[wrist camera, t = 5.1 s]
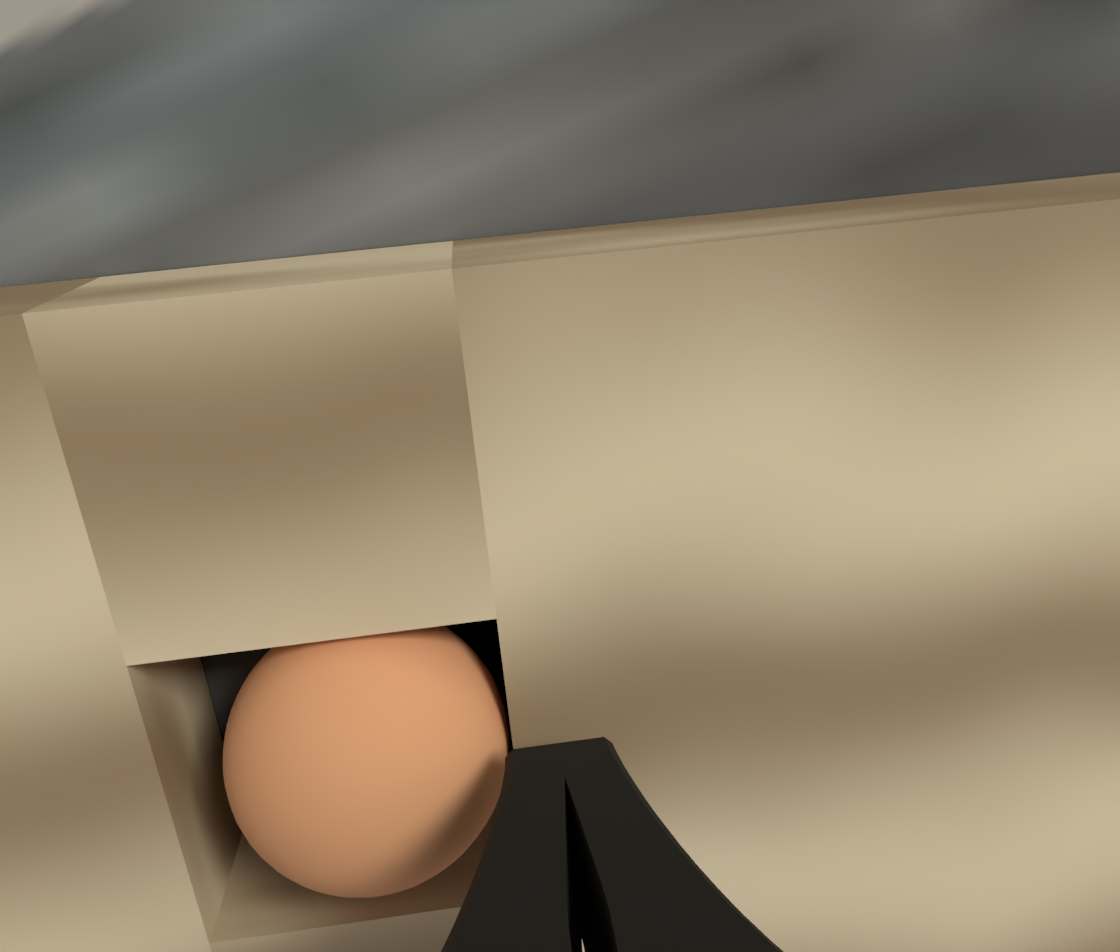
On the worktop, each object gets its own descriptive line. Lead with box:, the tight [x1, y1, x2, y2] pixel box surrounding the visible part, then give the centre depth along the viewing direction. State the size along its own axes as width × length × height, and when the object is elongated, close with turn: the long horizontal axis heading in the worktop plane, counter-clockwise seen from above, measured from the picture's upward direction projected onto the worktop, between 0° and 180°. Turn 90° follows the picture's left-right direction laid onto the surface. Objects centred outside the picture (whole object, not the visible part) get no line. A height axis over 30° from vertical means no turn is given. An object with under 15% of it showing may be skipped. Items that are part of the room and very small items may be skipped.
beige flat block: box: [0, 172, 1120, 952], centre depth 15 cm, size 14×20×2 cm
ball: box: [223, 626, 509, 898], centre depth 14 cm, size 4×4×4 cm
